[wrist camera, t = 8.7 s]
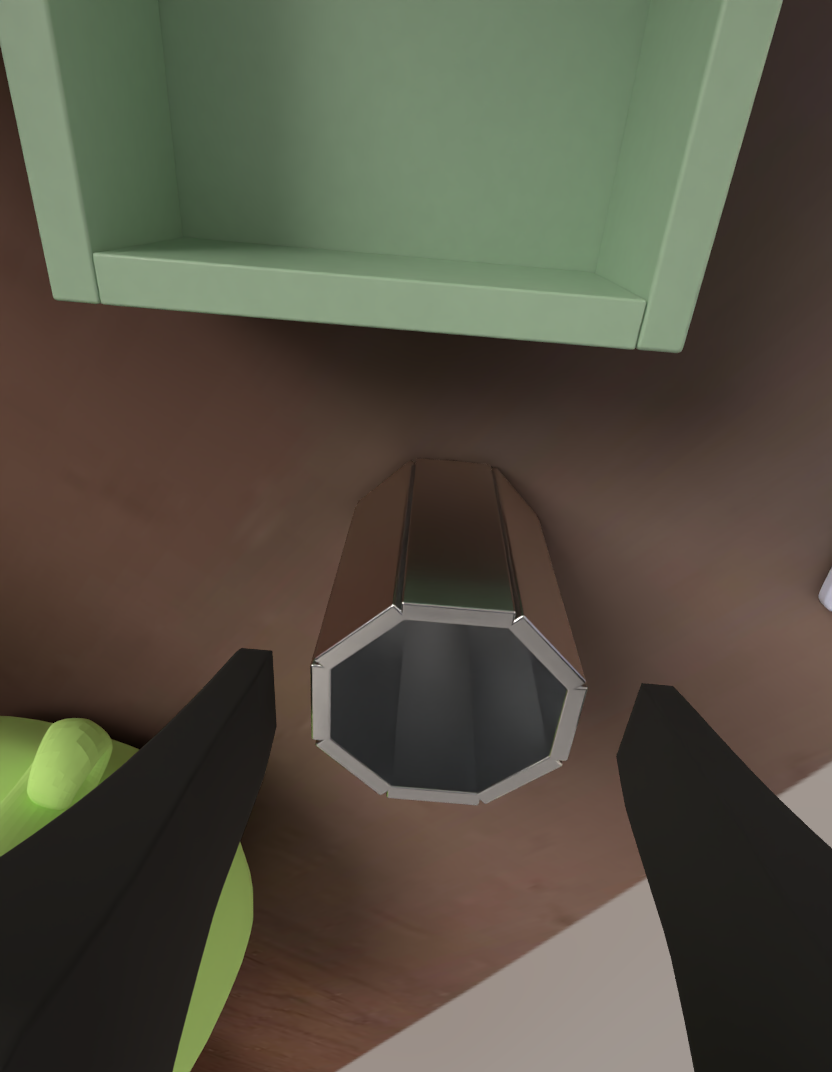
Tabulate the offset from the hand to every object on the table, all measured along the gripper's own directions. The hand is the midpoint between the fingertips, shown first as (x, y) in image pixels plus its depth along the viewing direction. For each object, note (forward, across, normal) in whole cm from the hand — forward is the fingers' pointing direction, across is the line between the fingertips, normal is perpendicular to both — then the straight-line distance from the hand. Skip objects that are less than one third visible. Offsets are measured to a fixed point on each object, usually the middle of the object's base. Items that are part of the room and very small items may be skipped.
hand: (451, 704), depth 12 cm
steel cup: (+6, 0, 0) cm, 7 cm away
